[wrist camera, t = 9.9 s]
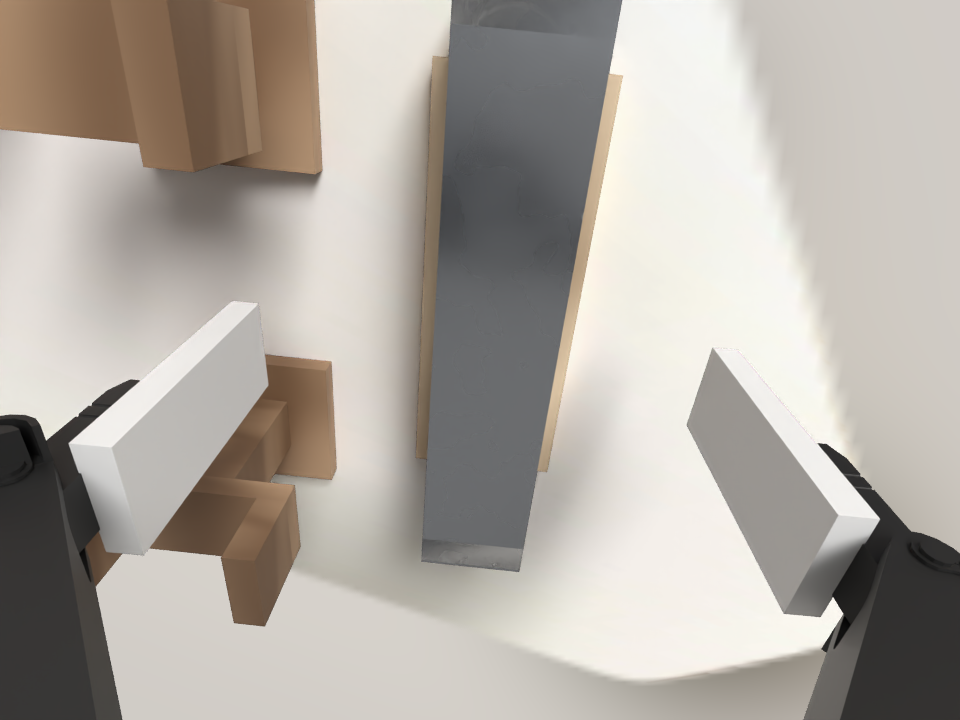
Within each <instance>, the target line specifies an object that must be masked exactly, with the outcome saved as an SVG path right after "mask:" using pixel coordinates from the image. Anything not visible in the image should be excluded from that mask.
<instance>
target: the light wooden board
mask: <svg viewBox="0 0 960 720" xmlns="http://www.w3.org/2000/svg"><path fill="white" fill-rule="evenodd" d="M448 64H449V58H448V57H438V56H433V60H432V84H431V108H430V131H429V155H428V179H427V203H426V227H425V251H424V275H423V299H422V323H421V347H420V371H419V394H418V418H417V442H416V458H420V459H427V450H428V431H429V413H430V395H431V376H432V358H433V339H434V321H435V303H436V284H437V266H438V247H439V229H440V211H441V192H442V174H443V155H444V137H445V119H446V100H447V82H448ZM622 78H623V75H614V74H609V76H608V82H607V88H606V93H605V99H604V104H603V110H602V115H601V121H600V126H599V132H598V137H597V143H596V149H595V154H594V160H593V165H592V171H591V176H590V182H589V187H588V193H587V198H586V204H585V210H584V215H583V221H582V226H581V232H580V237H579V243H578V248H577V254H576V259H575V265H574V271H573V276H572V282H571V287H570V293H569V298H568V304H567V309H566V315H565V320H564V326H563V332H562V337H561V343H560V348H559V354H558V359H557V365H556V370H555V376H554V381H553V387H552V392H551V398H550V404H549V409H548V415H547V420H546V426H545V431H544V437H543V442H542V448H541V453H540V459H539V465H538V470H537V471H542V472H547V470H548V465H549V459H550V454H551V449H552V444H553V438H554V433H555V428H556V423H557V418H558V412H559V407H560V402H561V397H562V391H563V386H564V381H565V376H566V371H567V365H568V360H569V355H570V350H571V344H572V339H573V334H574V329H575V324H576V318H577V313H578V308H579V303H580V298H581V292H582V287H583V282H584V277H585V271H586V266H587V261H588V256H589V251H590V245H591V240H592V235H593V230H594V224H595V219H596V214H597V209H598V204H599V198H600V193H601V188H602V183H603V177H604V172H605V167H606V162H607V157H608V151H609V146H610V141H611V136H612V131H613V125H614V120H615V115H616V110H617V104H618V99H619V94H620V89H621V84H622Z"/></svg>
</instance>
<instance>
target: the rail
mask: <svg viewBox="0 0 960 720" xmlns="http://www.w3.org/2000/svg"><path fill="white" fill-rule="evenodd" d="M621 4H622V0H452V8H451V27H450V45H449V64H448V82H447V100H446V119H445V137H444V155H443V174H442V192H441V211H440V229H439V247H438V266H437V284H436V303H435V321H434V339H433V358H432V376H431V395H430V413H429V431H428V450H427V468H426V487H425V505H424V523H423V542H422V560H421V562H431V563H440V564H449V565H459V566H468V567H477V568H487V569H496V570H505V571H515V572H519V570H520V564H521V559H522V553H523V548H524V542H525V537H526V531H527V526H528V520H529V514H530V509H531V503H532V498H533V492H534V487H535V481H536V476H537V470H538V465H539V459H540V453H541V448H542V442H543V437H544V431H545V426H546V420H547V415H548V409H549V404H550V398H551V392H552V387H553V381H554V376H555V370H556V365H557V359H558V354H559V348H560V343H561V337H562V332H563V326H564V320H565V315H566V309H567V304H568V298H569V293H570V287H571V282H572V276H573V271H574V265H575V259H576V254H577V248H578V243H579V237H580V232H581V226H582V221H583V215H584V210H585V204H586V198H587V193H588V187H589V182H590V176H591V171H592V165H593V160H594V154H595V149H596V143H597V137H598V132H599V126H600V121H601V115H602V110H603V104H604V99H605V93H606V88H607V82H608V76H609V71H610V65H611V60H612V54H613V49H614V43H615V38H616V32H617V27H618V21H619V15H620V10H621Z"/></svg>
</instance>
